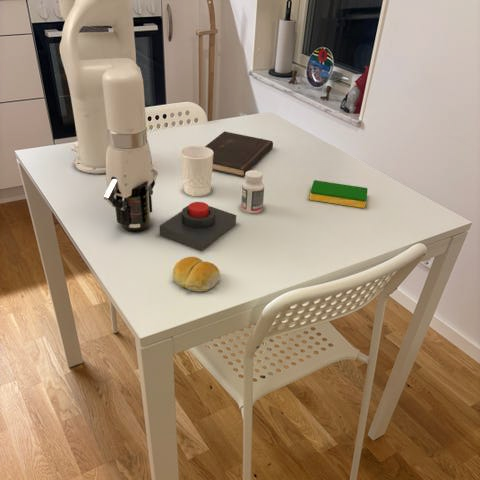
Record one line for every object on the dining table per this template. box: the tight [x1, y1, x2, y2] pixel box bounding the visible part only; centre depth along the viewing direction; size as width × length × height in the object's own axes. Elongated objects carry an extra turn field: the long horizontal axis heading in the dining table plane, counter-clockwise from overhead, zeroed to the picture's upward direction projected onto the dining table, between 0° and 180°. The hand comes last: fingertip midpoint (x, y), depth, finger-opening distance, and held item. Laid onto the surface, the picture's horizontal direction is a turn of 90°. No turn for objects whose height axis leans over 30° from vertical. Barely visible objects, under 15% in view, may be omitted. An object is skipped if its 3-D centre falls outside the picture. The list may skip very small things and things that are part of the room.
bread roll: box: [172, 256, 221, 292], centre depth 99 cm, size 8×9×4 cm
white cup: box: [180, 145, 213, 197], centre depth 127 cm, size 8×8×10 cm
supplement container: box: [118, 181, 152, 233], centre depth 112 cm, size 7×7×10 cm
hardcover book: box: [204, 131, 274, 178], centre depth 147 cm, size 16×23×2 cm
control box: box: [159, 205, 237, 252], centre depth 114 cm, size 11×14×4 cm
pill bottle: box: [240, 169, 265, 214], centre depth 121 cm, size 5×5×9 cm
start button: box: [188, 201, 210, 218], centre depth 112 cm, size 4×4×2 cm
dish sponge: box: [309, 179, 368, 209], centre depth 130 cm, size 7×14×2 cm, turn 76°
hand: (135, 216), depth 114 cm, fingers closed on supplement container, 6 cm apart
